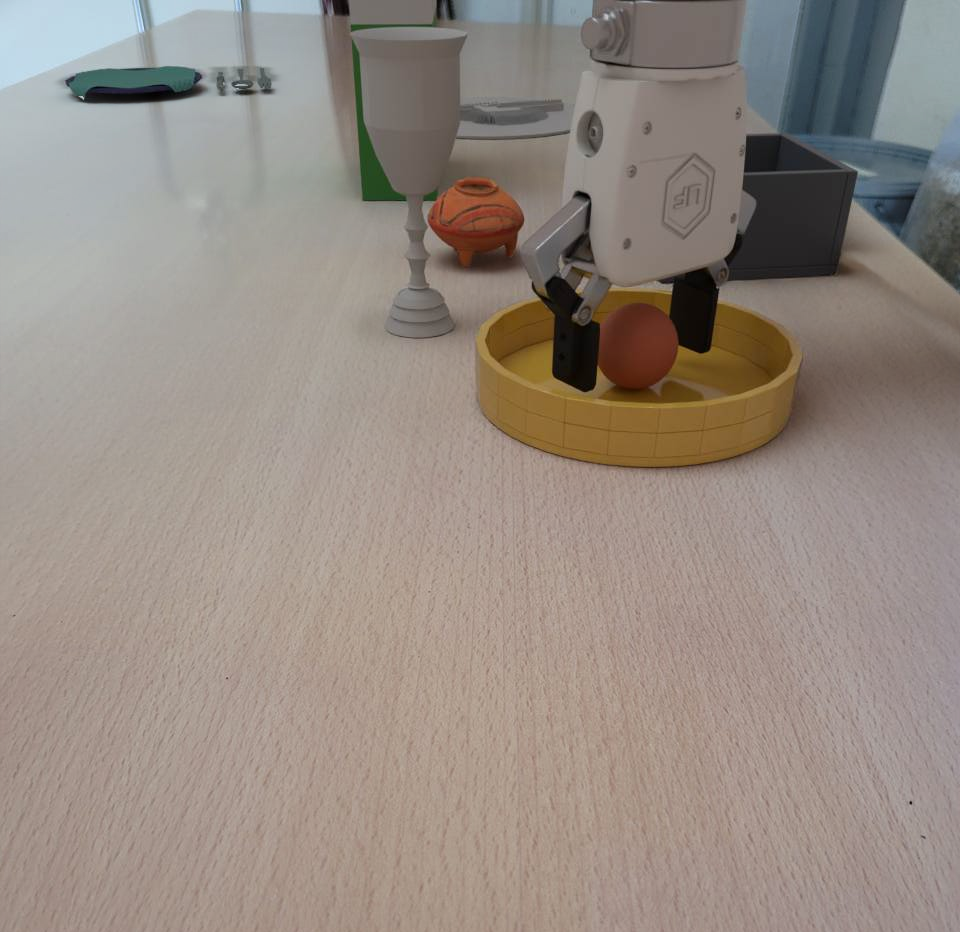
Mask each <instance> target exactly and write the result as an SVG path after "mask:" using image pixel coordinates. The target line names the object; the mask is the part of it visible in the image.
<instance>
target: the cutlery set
mask: <svg viewBox="0 0 960 932" xmlns="http://www.w3.org/2000/svg"><path fill="white" fill-rule="evenodd" d="M259 74H260V77H258V78H257V85H258V87H259V88H260V89H263V88H264V89H267V88H268V89H271V88H272V84H273V83H272V78H271V77H268V75H266V72H265V68H264V67H260V68H259ZM217 75H218V76H216V89H217V90H218V91H224V85H223V82H225V83H226V79H225V76H224V72H223V71H218V72H217ZM222 75H223V76H222ZM237 75H238V77H239V80H234V81H232V82H231V83H230V85H231V87H233V89H236V88H239V89H247V88H250V89H251V88H252V87H253V86H254V82H253V81H251V80H247V79H244V68H237ZM202 79H203V75H202V74H201V72H198V71H196V68H191V67H187V66H176V65H175V66H172V65H165V66H159V67H133V68H110V67H109V68H98V69H93V70H87V71H81V72H77V73H75V75H73V76H70V77H68V78H67V79H65V80H64V82H65V84H66V87H68V88H69V89H70V91H71V92H72V94H74V95H75V96H76V97H77V96H83V97H85V98H86V93H93V94H94V93H95V94H145V93H154V92H155V93H156V92H162V91H163V92H164V91H174V93H179V92H185V91H188V90H191V88H192V87H193V86H194V85H196V84H197V83H199V82H200V81H201V80H202ZM237 84H246V85H248V86H235V85H237ZM247 90H248V89H247Z"/></svg>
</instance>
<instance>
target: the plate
mask: <svg viewBox="0 0 960 932" xmlns="http://www.w3.org/2000/svg"><path fill="white" fill-rule="evenodd" d="M574 108H575V104H572V103H567V102H563V99H562V98H557V99H555V98H553V99H552V98H551V99H549V98H548V99H538V98H537V99H536V98H525V97H510V96H509V97H505V96H469V97H460V125H459V129H458V132H457V136H456V139H467V140H468V139H469V140H514V139H515V140H517V139H531V138H532V139H533V138H543V137H551V136H557V135H563V134H568V133H570V129H571V123H572V118H573V113H574Z"/></svg>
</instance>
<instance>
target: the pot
mask: <svg viewBox="0 0 960 932" xmlns="http://www.w3.org/2000/svg"><path fill="white" fill-rule="evenodd" d="M427 223H428V227H430V229H431V230H432V232H433V233H434V234H435V236H437V237H438V238H439V239H440V240H441V241H442V242H443V243H445V244H446V245H447V246H449V247H450V248H452V249H453V250H454V252H457V256H458V259H459V262H460V264H461V267H462V268H470V266H471V264H472V259H473V255H474V254H485V253H491V252H492V251H495V250H497V249H501V248H502V247H504V248H505V253H506V257H507V258H511V257H512V256H513V255H514V254H515V251H516V247H517V244H518V239H519V238H518V237H519V232H520V230H521V229H522V228H523V226H524V224H525V216H524V212H523V210H522V208H521V207H520V205H519V204H518V203H517V201H516V200H515V199H514V197H512V196H511V195H510V194H509V193H508V192H507V191H505V190H504V189H502V188H500V185H499V184H497V183H496V182H495V181H493V179H491V178H488V177H481V176H480V177H479V176H470V177H464V178H463V179H459V180H458V179H457V180H456V181H454V182H453V186H451V187H449V188H448V189H446V190H445V191H444V192H442V194H441V195H439V197H437V200H434V201H433V204H432V206H431V207H430V209H429V211H428V213H427Z"/></svg>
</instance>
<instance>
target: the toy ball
mask: <svg viewBox="0 0 960 932" xmlns="http://www.w3.org/2000/svg"><path fill="white" fill-rule="evenodd" d="M677 353H678V336H677V332H676V329H675V326H674V324H673V322H672V321H671V319H670V318H669V317H668V316H667V315H666V314H665V313H664V312H663V311H662V310H660V309H659V308H657V307H655V306H653V305H650V304H646V303H630V304H626V305H623V306H621V307H619V308H617V309H615V310H614V311H612V312H611V313H610V314H609V315H608V316H607V317H606V318H605V319H604V321H603V322H602V323H601V325H600V341H599V354H598V366H599V369H600V370H601V372H602V373H603V374H604V376H605V377H606V378H607V379H608V380H610V381H611V382H612V383H614V384H616V385H617V386H620V387H623V388H626V389H642V388H647V387H649V386H652V385H654V384H656V383H657V382H659V381H660V380H661V379H663V378H664V377H665V376H666V375H667V374H668V372H669V371H670V370H671V368H672V366H673V364H674V362H675V360H676V357H677Z"/></svg>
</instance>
